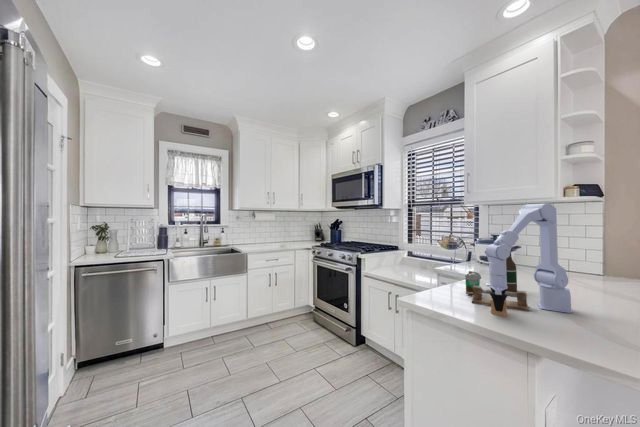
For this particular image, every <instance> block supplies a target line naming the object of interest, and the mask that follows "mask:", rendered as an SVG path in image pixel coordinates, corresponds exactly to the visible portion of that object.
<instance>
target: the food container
mask: <svg viewBox="0 0 640 427" xmlns="http://www.w3.org/2000/svg"><path fill="white" fill-rule="evenodd" d="M464 278H465V295H466V294H468V295H467V296H472V295H473V286H480V283H481V282H480V280H482V276H481V274H480V273H479V272H477V271H471V270H468V273H467V274H465V276H464Z"/></svg>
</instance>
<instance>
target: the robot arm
mask: <svg viewBox="0 0 640 427" xmlns="http://www.w3.org/2000/svg"><path fill="white" fill-rule="evenodd" d="M518 212H519V215H518V216H517V217H516V219H515V220H514V222H513V224H512V225H511V226H510V228H509V229H506V230H503V231H501V232H500V235H499V236H498V237H497V238H496V240H494V241H493V243H491V244H489V245H488V246H486V248H485V250H484V253H485V256H486V257H487V261H488V274H489V283H486V287H489V288H490V289H491V290H492V292H490V294H489V295H490V298H491V297H492V299H493V302H494V306H495V310H496V311H500V312H502V311H503V306H504V301H505V299H506V300H507V298H508V296H507V295H506V294H505V292H506V290H507V288H508V286H507V274H506V259H507V258H508V257H509V256H510V251H511V252H512V247H513V246H514V245H515V244H516V243H517V241H518V240H519V237H520V236H519V234H520V233H521V232H522V231H523V230H524V229H525V228H527V227H528V225H529V224H530V223H531V222H534V223H535V224H536V225H538V226H539V244H540V246H539V248H540V249H539V250H540V251H539V252H540V263H538V264H536V265H535V270H534V272H533V279H534V281H535V282H536V283H537V285H539V302H537V305H538V306H539V309H540V310H546V311H547V310H548V311H553V312H560V313H561V312H562V313H568V314H572V312H573V311H572V298H571V292H570V289H569V288H567V286H568V284H569V277H568V275H567V270H566V269H565V268H564V267H563V266H561V265H560V264H559V257H558V256H559V251H558V226H557V224H558V222H557V221H558V220H557V207H556V206H554V205H553V204H551V203H549V202H546V203H535V204H534V203H533V204H532V203H531V204H529V203H527V204H524V205H523V206H522V207H521V208H520V209H519V210H518Z"/></svg>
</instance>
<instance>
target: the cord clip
mask: <svg viewBox="0 0 640 427" xmlns="http://www.w3.org/2000/svg"><path fill="white" fill-rule="evenodd" d="M490 298H491V306H490V307H491V308H490V310H491V311H490V313H491V314H492V315H497V316H503V317H507V316H508V313H507V312H508V310H507V309H508V308H507V303H506V300H507V298H506V299H505V301H504V306H503V311H502V312H500V311H496V310H495V306H494V302H493V299H492V297H491V296H490Z"/></svg>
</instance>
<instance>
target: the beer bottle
mask: <svg viewBox="0 0 640 427" xmlns="http://www.w3.org/2000/svg"><path fill="white" fill-rule="evenodd" d="M506 274H507V286H508V288H507V290H506V291H508V292H516V293H517V291H518V278H517V277H518V276H517V274H518V273H517V265H516V263H515V262H514V260H513V258H512V250H511V251H510V256H509V257H508V258H507V259H506Z"/></svg>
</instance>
